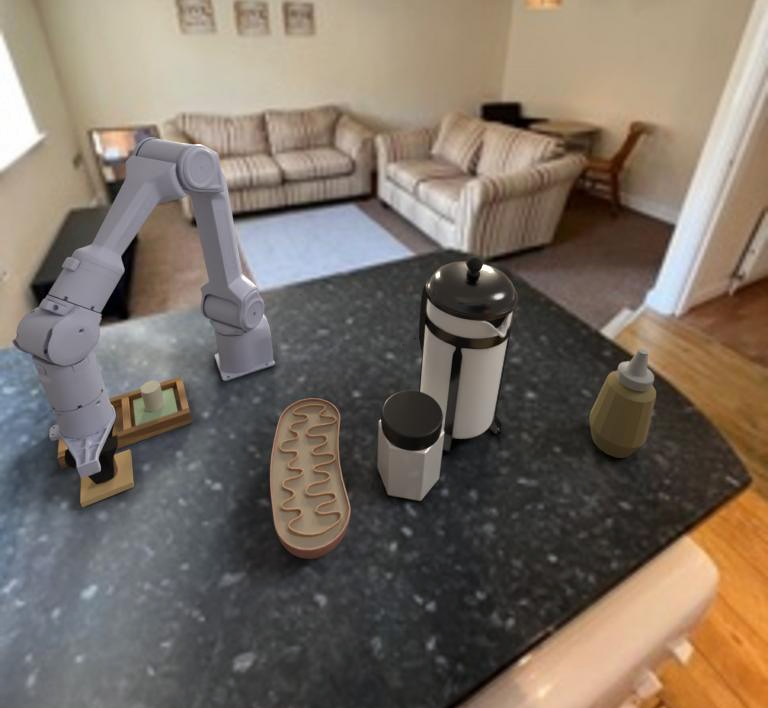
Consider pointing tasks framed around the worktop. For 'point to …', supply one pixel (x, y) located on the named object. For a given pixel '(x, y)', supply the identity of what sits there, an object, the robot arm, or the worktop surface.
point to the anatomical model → (308, 479)
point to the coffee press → (465, 344)
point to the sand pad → (109, 481)
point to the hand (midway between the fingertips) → (104, 469)
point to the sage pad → (156, 415)
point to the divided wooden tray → (133, 433)
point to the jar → (410, 444)
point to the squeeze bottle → (624, 408)
